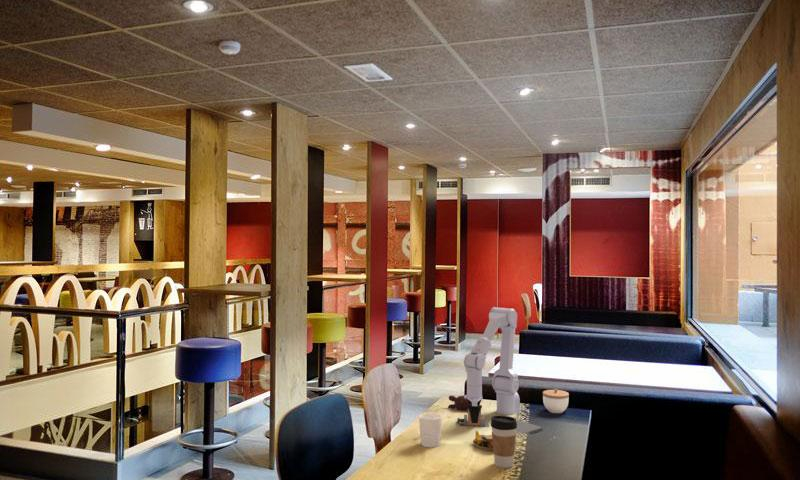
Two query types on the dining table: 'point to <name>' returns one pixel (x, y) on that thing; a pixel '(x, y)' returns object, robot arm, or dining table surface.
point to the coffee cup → (503, 440)
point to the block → (470, 419)
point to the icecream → (458, 403)
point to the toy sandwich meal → (483, 441)
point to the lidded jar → (555, 400)
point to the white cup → (430, 429)
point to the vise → (465, 423)
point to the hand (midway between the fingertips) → (474, 419)
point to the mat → (527, 427)
